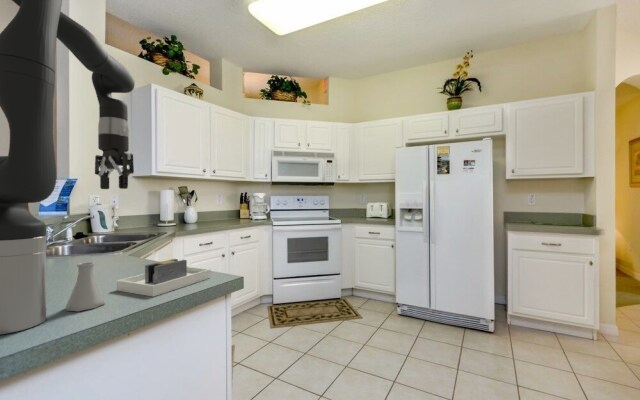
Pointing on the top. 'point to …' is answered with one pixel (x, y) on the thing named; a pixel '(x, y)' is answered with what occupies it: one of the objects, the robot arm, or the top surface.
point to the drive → (165, 271)
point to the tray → (150, 289)
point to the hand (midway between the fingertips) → (113, 188)
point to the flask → (85, 290)
